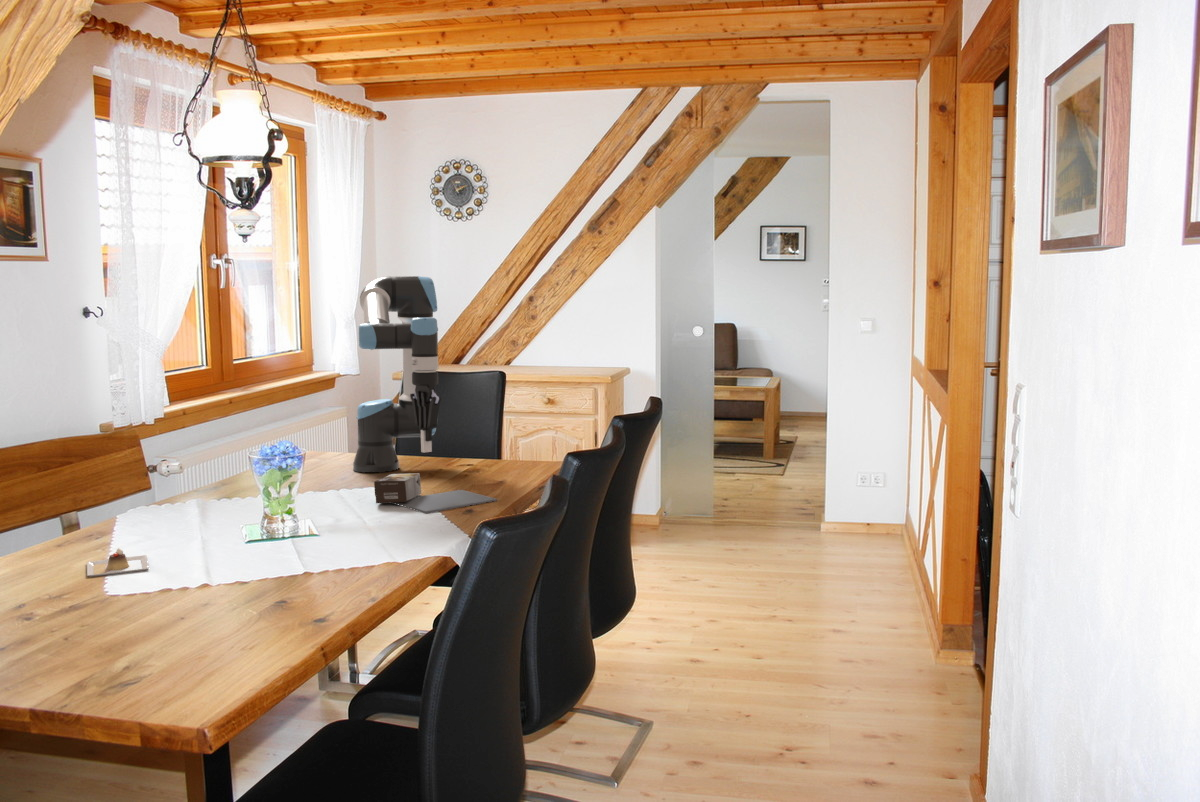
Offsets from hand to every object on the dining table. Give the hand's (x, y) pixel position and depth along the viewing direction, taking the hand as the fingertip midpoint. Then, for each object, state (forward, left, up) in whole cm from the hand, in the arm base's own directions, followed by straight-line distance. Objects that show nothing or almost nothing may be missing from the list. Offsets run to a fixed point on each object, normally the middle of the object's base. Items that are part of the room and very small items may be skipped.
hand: (426, 451), depth 288 cm
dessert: (+18, -90, -14) cm, 93 cm away
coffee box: (-7, -2, -10) cm, 13 cm away
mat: (+9, 0, -13) cm, 16 cm away
